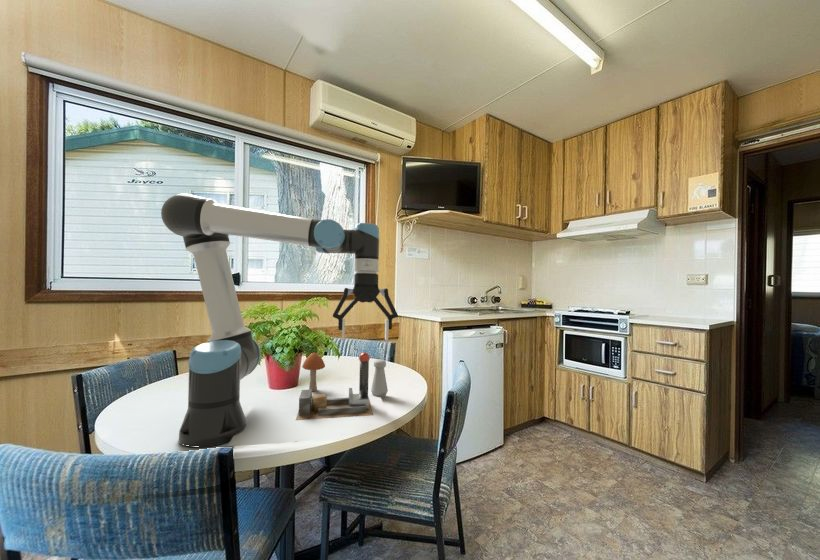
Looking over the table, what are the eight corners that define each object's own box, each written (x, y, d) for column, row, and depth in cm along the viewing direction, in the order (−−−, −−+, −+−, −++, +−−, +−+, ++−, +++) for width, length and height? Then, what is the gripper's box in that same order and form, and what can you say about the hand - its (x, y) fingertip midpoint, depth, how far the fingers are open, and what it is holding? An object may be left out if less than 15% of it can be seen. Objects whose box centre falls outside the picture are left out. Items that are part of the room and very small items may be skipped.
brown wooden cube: (311, 412, 101) (311, 399, 101) (312, 407, 105) (312, 394, 105) (326, 411, 102) (326, 398, 102) (326, 406, 106) (326, 393, 106)
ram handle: (349, 410, 102) (350, 354, 103) (348, 403, 108) (349, 351, 108) (369, 408, 104) (370, 354, 104) (368, 402, 109) (369, 350, 109)
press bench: (295, 424, 95) (296, 402, 95) (300, 406, 109) (301, 387, 109) (373, 419, 100) (374, 398, 100) (369, 402, 114) (369, 384, 114)
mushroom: (316, 398, 116) (317, 355, 116) (296, 395, 119) (297, 353, 119) (328, 392, 124) (329, 350, 124) (310, 389, 126) (311, 349, 126)
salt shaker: (384, 400, 116) (385, 362, 116) (368, 399, 117) (369, 361, 117) (389, 395, 122) (390, 358, 122) (374, 393, 123) (374, 357, 123)
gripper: (325, 271, 100) (323, 343, 100) (407, 273, 106) (406, 341, 105) (326, 272, 108) (324, 338, 108) (402, 274, 113) (401, 337, 113)
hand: (365, 340), depth 106 cm, fingers open, 13 cm apart
